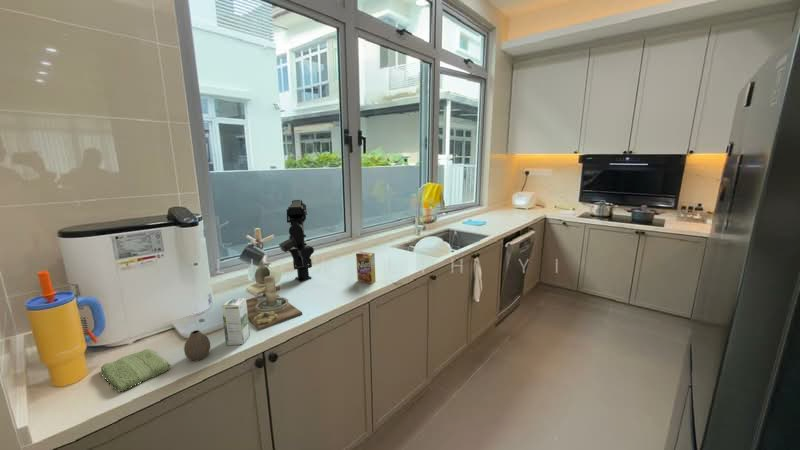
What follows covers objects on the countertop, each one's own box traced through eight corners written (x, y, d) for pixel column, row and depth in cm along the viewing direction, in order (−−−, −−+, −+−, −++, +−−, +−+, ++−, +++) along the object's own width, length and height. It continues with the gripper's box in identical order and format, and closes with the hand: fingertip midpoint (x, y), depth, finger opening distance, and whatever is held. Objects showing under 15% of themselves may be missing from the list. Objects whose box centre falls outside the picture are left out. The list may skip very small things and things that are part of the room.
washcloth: (151, 351, 101) (149, 343, 101) (173, 370, 92) (171, 361, 91) (97, 374, 91) (95, 364, 90) (116, 398, 81) (114, 387, 80)
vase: (216, 352, 99) (213, 328, 98) (196, 365, 93) (192, 339, 91) (201, 349, 102) (197, 324, 100) (180, 361, 95) (176, 335, 94)
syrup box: (233, 336, 109) (228, 298, 106) (250, 335, 109) (246, 297, 106) (226, 346, 103) (220, 305, 100) (244, 344, 104) (239, 304, 101)
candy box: (356, 281, 159) (355, 253, 156) (361, 278, 163) (360, 251, 160) (371, 284, 155) (370, 255, 152) (375, 281, 159) (374, 252, 156)
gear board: (234, 305, 134) (233, 298, 133) (273, 293, 145) (272, 287, 145) (258, 330, 113) (258, 322, 112) (302, 314, 124) (301, 307, 124)
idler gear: (263, 303, 132) (260, 275, 130) (282, 301, 135) (280, 273, 132) (261, 312, 125) (257, 282, 122) (281, 309, 127) (278, 279, 124)
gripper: (272, 233, 144) (275, 264, 147) (289, 239, 131) (292, 273, 134) (294, 229, 152) (297, 259, 155) (313, 234, 138) (315, 267, 141)
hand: (300, 264), depth 146 cm, fingers open, 9 cm apart
